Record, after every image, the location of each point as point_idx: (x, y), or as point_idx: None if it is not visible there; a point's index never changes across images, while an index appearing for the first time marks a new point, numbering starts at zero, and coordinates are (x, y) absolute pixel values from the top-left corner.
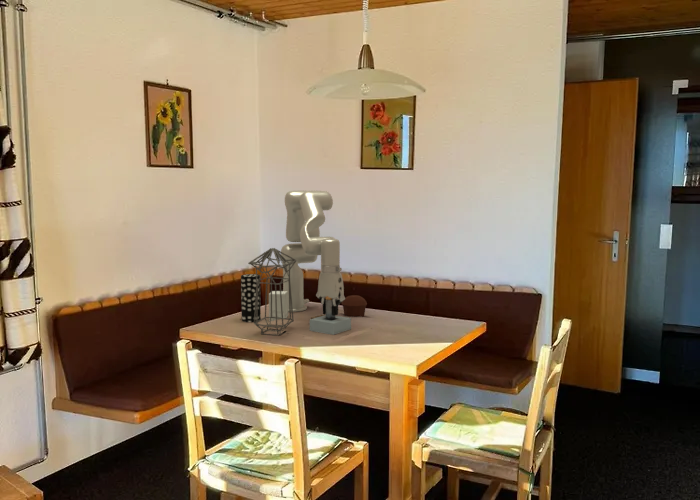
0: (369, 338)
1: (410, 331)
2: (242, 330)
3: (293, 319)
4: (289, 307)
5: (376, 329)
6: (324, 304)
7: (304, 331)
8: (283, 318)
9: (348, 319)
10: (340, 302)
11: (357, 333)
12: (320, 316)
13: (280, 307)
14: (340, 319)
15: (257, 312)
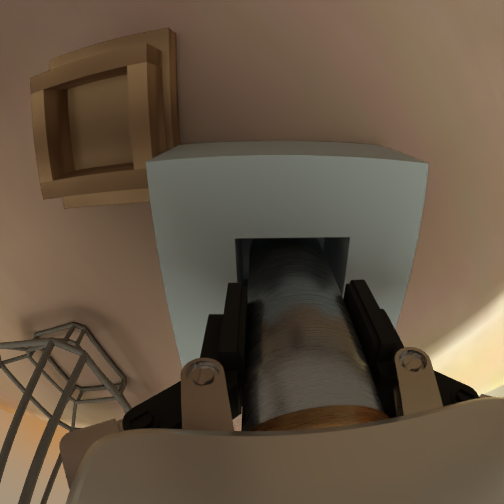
0: (496, 208)
1: None
2: (13, 368)
3: (83, 360)
4: (28, 397)
5: (445, 8)
6: (239, 405)
7: (132, 283)
8: (31, 346)
9: (421, 201)
10: (454, 387)
11: (419, 143)
12: (160, 266)
13: None
14: (377, 258)
15: (60, 463)
